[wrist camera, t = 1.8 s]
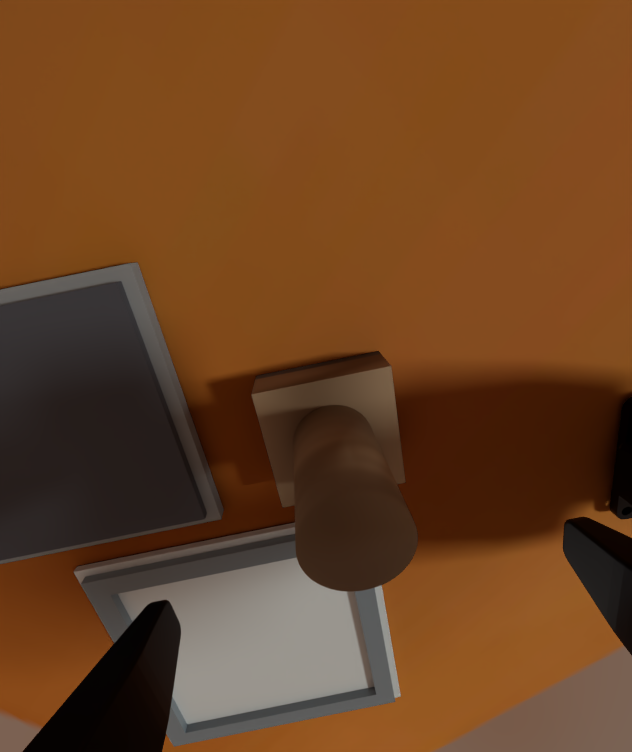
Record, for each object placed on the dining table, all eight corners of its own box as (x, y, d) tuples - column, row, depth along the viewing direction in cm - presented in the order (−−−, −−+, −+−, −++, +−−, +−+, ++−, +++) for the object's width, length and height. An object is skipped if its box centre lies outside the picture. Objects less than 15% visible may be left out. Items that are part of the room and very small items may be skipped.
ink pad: (137, 262, 13) (125, 263, 12) (223, 510, 16) (219, 525, 15) (-170, 324, 13) (-207, 330, 12) (-12, 557, 16) (-31, 576, 15)
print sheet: (367, 507, 17) (370, 518, 16) (399, 690, 22) (402, 704, 21) (77, 566, 17) (68, 579, 16) (173, 736, 22) (169, 751, 21)
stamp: (377, 350, 14) (452, 436, 8) (392, 455, 16) (462, 598, 10) (256, 375, 14) (228, 482, 8) (283, 477, 16) (279, 635, 10)
